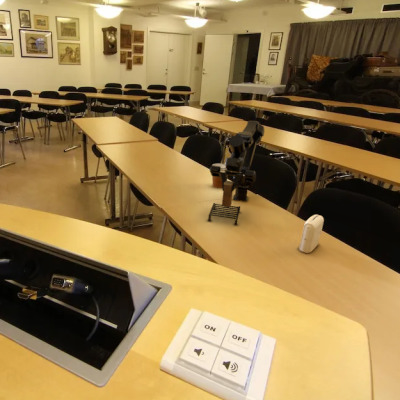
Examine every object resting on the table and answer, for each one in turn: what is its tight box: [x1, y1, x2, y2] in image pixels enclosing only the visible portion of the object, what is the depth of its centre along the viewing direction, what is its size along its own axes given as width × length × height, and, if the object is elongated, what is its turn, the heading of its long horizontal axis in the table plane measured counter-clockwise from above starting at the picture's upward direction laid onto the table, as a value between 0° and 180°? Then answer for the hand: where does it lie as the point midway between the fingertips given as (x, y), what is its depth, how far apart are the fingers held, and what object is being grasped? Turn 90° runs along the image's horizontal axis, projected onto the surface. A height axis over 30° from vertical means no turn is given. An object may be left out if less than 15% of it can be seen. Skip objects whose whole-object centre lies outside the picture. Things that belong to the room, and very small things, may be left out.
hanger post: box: [221, 180, 234, 208], centre depth 136 cm, size 3×3×11 cm
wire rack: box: [207, 202, 241, 226], centre depth 142 cm, size 14×12×3 cm
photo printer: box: [298, 214, 325, 254], centre depth 115 cm, size 10×4×12 cm, turn 133°
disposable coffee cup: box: [211, 163, 228, 189], centre depth 176 cm, size 10×10×12 cm
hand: (227, 191), depth 134 cm, fingers closed on hanger post, 3 cm apart
